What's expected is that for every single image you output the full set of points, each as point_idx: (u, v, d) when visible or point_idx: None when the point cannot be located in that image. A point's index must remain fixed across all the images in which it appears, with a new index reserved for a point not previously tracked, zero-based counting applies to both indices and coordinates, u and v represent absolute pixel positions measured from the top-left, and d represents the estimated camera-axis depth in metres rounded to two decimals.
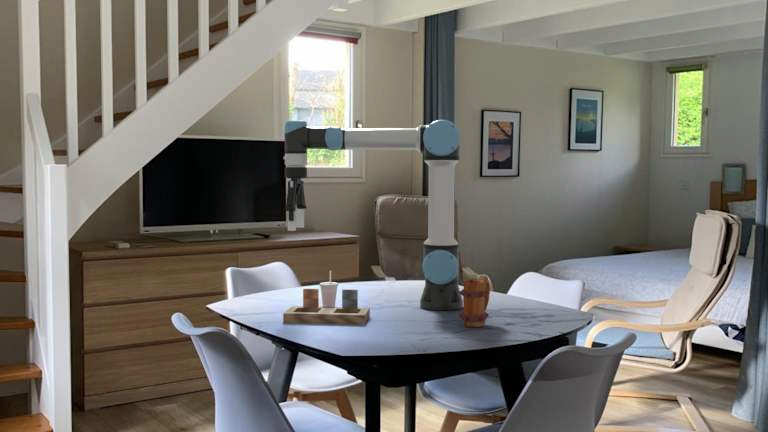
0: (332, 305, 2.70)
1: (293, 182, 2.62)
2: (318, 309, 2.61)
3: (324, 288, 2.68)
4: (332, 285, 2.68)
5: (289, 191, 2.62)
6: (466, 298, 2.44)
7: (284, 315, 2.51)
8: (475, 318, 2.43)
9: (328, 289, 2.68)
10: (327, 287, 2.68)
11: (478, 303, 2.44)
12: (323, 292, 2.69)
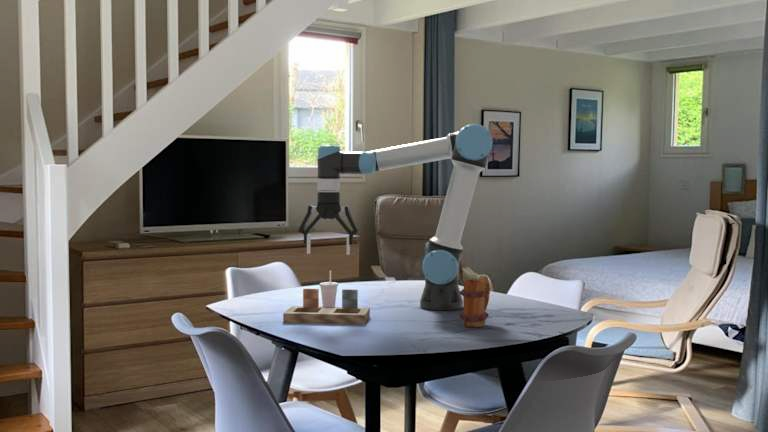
0: (332, 305, 2.70)
1: None
2: (318, 309, 2.61)
3: (324, 288, 2.68)
4: (332, 285, 2.68)
5: None
6: (466, 298, 2.44)
7: (284, 315, 2.51)
8: (475, 318, 2.43)
9: (328, 289, 2.68)
10: (327, 287, 2.68)
11: (478, 303, 2.44)
12: (323, 292, 2.69)
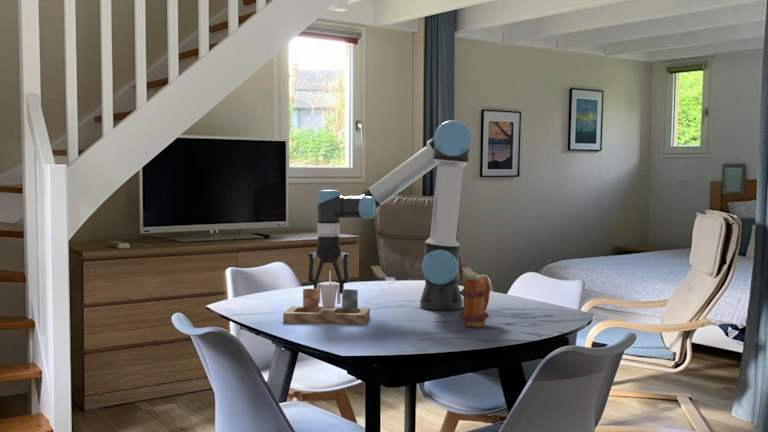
0: (332, 305, 2.70)
1: None
2: (318, 309, 2.61)
3: (324, 288, 2.68)
4: (332, 285, 2.68)
5: None
6: (466, 298, 2.44)
7: (284, 315, 2.51)
8: (475, 318, 2.43)
9: (328, 289, 2.68)
10: (327, 287, 2.68)
11: (478, 303, 2.44)
12: (323, 292, 2.69)
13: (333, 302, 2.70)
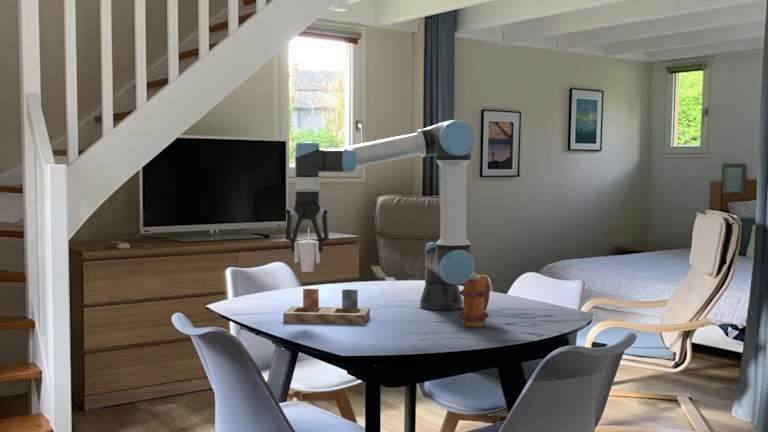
0: (311, 264, 2.55)
1: None
2: (318, 309, 2.61)
3: (302, 246, 2.53)
4: (310, 243, 2.53)
5: None
6: (466, 298, 2.44)
7: (284, 315, 2.51)
8: (475, 318, 2.43)
9: (306, 247, 2.53)
10: (305, 245, 2.53)
11: (478, 303, 2.44)
12: (301, 250, 2.54)
13: (312, 261, 2.55)
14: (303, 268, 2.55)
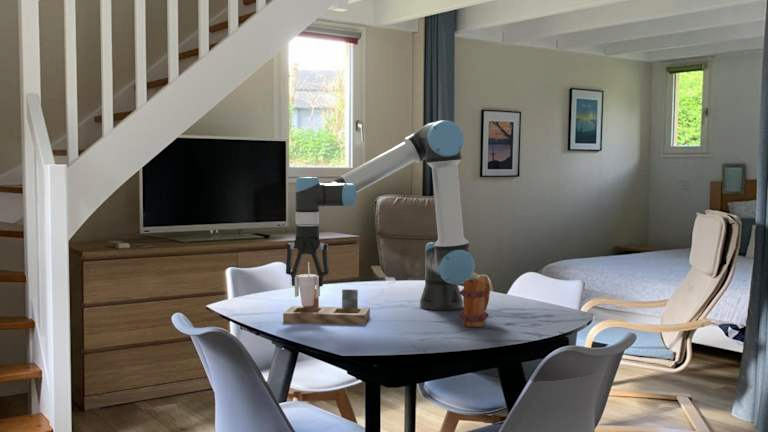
0: (311, 298, 2.55)
1: None
2: (318, 309, 2.61)
3: (302, 280, 2.54)
4: (310, 277, 2.54)
5: None
6: (466, 298, 2.44)
7: (284, 315, 2.51)
8: (475, 318, 2.43)
9: (306, 281, 2.54)
10: (305, 279, 2.54)
11: (478, 303, 2.44)
12: (301, 285, 2.55)
13: (312, 295, 2.55)
14: (303, 302, 2.55)
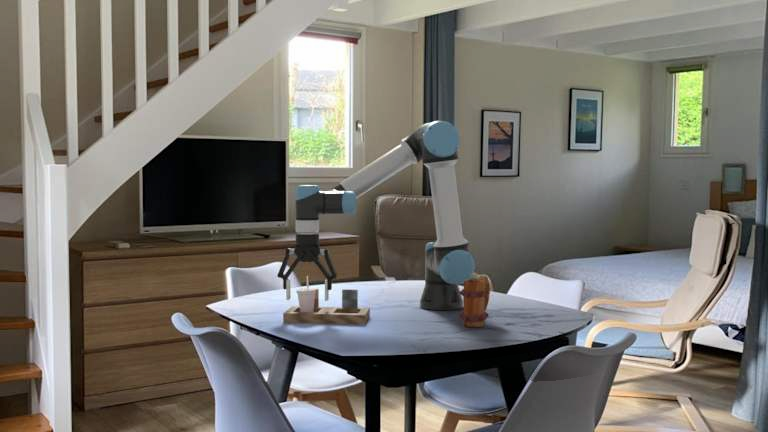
0: None
1: (286, 249, 2.56)
2: (318, 309, 2.61)
3: (301, 295, 2.54)
4: (309, 291, 2.54)
5: None
6: (466, 298, 2.44)
7: (284, 315, 2.51)
8: (475, 318, 2.43)
9: (305, 295, 2.54)
10: (304, 293, 2.54)
11: (478, 303, 2.44)
12: (300, 299, 2.55)
13: (311, 309, 2.56)
14: None
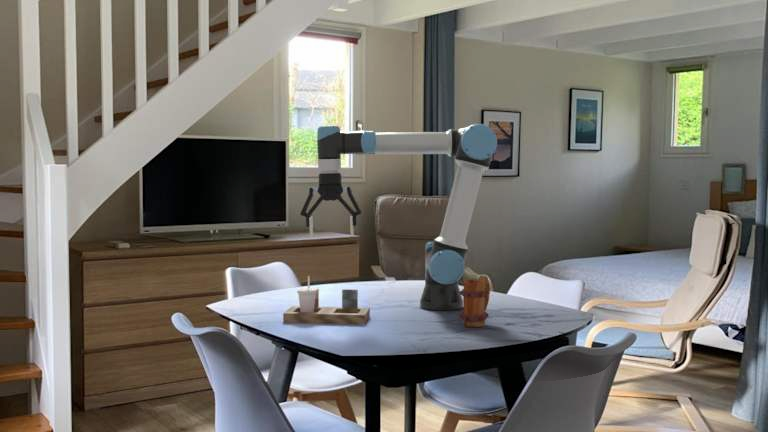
0: None
1: None
2: (318, 309, 2.61)
3: (302, 295, 2.54)
4: (310, 292, 2.54)
5: None
6: (466, 298, 2.44)
7: (284, 315, 2.51)
8: (475, 318, 2.43)
9: (306, 296, 2.54)
10: (305, 294, 2.54)
11: (478, 303, 2.44)
12: (301, 299, 2.55)
13: (312, 310, 2.56)
14: None
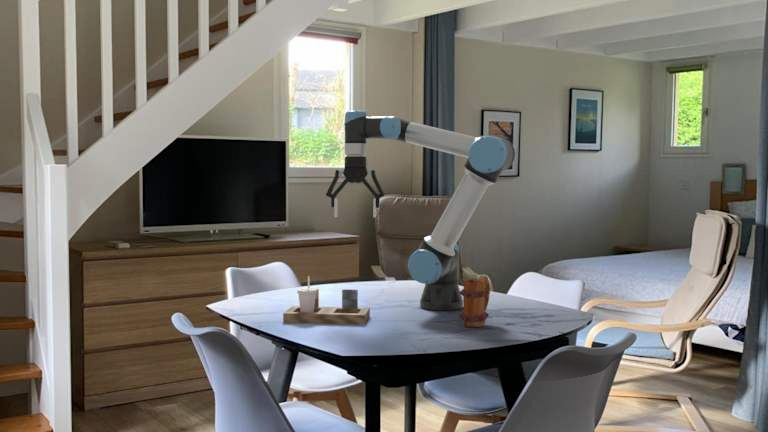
0: None
1: (336, 171, 2.75)
2: (318, 309, 2.61)
3: (302, 295, 2.54)
4: (310, 292, 2.54)
5: None
6: (466, 298, 2.44)
7: (284, 315, 2.51)
8: (475, 318, 2.43)
9: (306, 296, 2.54)
10: (305, 294, 2.54)
11: (478, 303, 2.44)
12: (301, 299, 2.55)
13: (312, 310, 2.56)
14: None
